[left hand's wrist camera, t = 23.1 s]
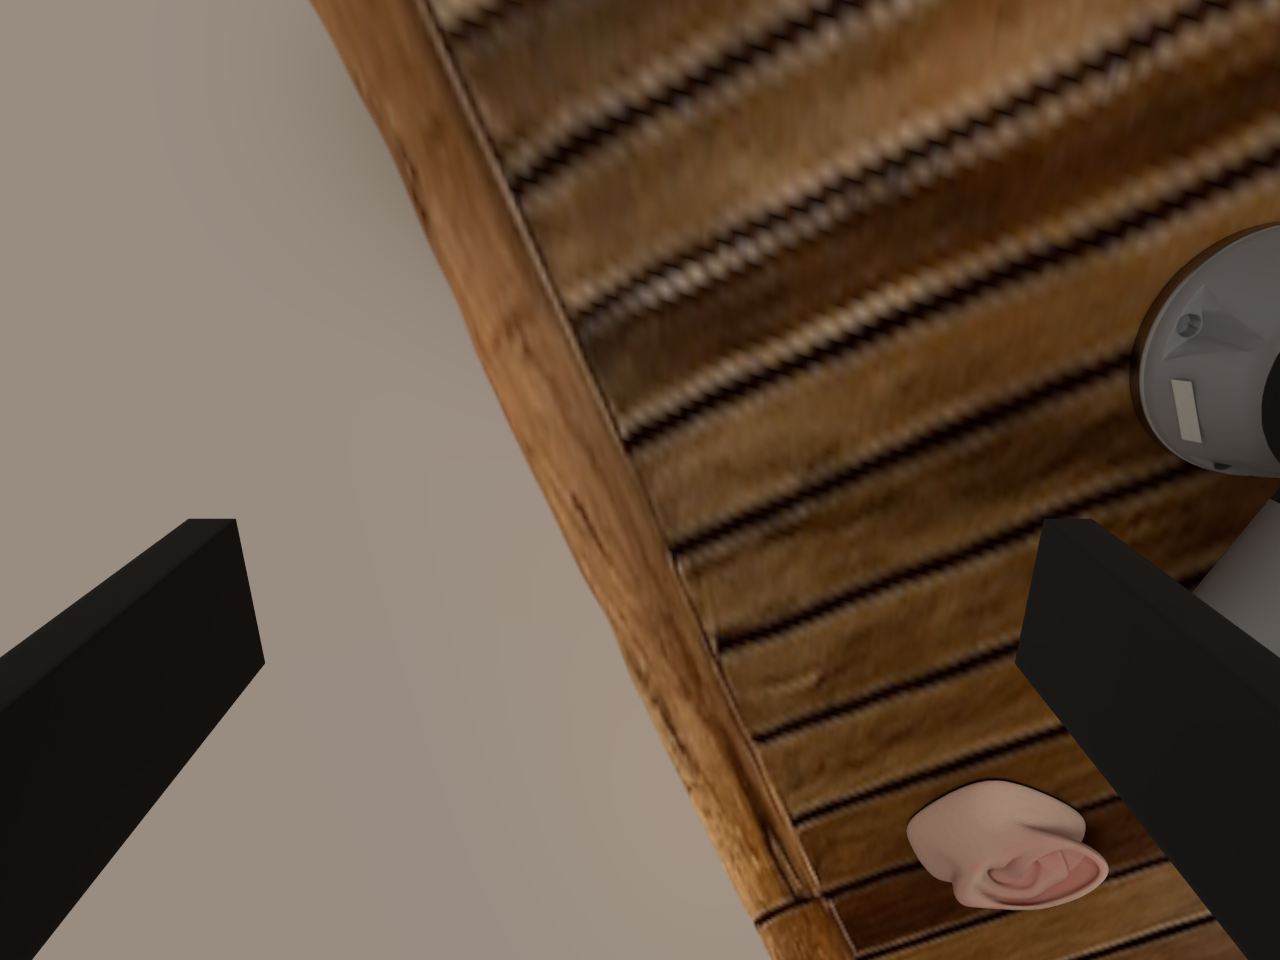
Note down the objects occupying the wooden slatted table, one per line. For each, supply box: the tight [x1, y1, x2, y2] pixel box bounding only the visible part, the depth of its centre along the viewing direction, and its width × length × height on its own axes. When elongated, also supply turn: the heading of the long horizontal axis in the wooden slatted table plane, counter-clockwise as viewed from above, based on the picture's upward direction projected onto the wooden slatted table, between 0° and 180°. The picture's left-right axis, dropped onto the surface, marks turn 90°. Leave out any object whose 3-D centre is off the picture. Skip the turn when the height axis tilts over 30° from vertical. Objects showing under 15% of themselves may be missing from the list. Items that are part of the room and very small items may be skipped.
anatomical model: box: [907, 780, 1108, 910], centre depth 60 cm, size 13×4×12 cm
